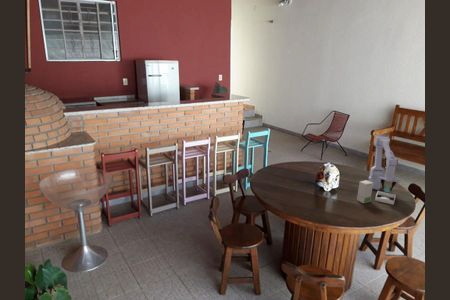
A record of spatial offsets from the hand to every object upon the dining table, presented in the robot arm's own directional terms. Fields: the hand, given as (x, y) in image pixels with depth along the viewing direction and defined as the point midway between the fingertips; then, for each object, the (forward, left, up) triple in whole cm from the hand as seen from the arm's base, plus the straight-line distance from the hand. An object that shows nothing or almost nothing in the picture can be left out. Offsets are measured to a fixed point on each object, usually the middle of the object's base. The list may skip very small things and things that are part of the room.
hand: (386, 189), depth 240 cm
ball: (0, 0, -2) cm, 2 cm away
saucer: (0, 0, -8) cm, 8 cm away
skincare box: (-14, -12, -8) cm, 20 cm away
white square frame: (0, 0, -8) cm, 8 cm away
